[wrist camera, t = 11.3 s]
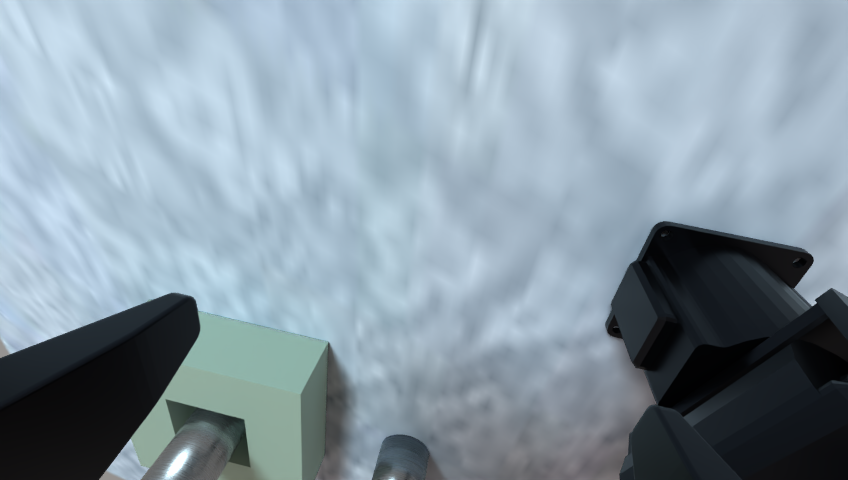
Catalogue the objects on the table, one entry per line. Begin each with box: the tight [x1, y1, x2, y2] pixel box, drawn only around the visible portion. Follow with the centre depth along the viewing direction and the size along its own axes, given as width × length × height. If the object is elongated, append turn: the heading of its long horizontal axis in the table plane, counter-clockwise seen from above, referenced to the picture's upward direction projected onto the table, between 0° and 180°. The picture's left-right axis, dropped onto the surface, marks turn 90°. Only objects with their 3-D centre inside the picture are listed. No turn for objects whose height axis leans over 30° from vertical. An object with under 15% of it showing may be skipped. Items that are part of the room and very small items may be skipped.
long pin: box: [141, 407, 246, 480], centre depth 25 cm, size 4×4×8 cm
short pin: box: [372, 435, 429, 480], centre depth 28 cm, size 4×4×4 cm
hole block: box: [131, 300, 328, 480], centre depth 27 cm, size 12×12×4 cm
